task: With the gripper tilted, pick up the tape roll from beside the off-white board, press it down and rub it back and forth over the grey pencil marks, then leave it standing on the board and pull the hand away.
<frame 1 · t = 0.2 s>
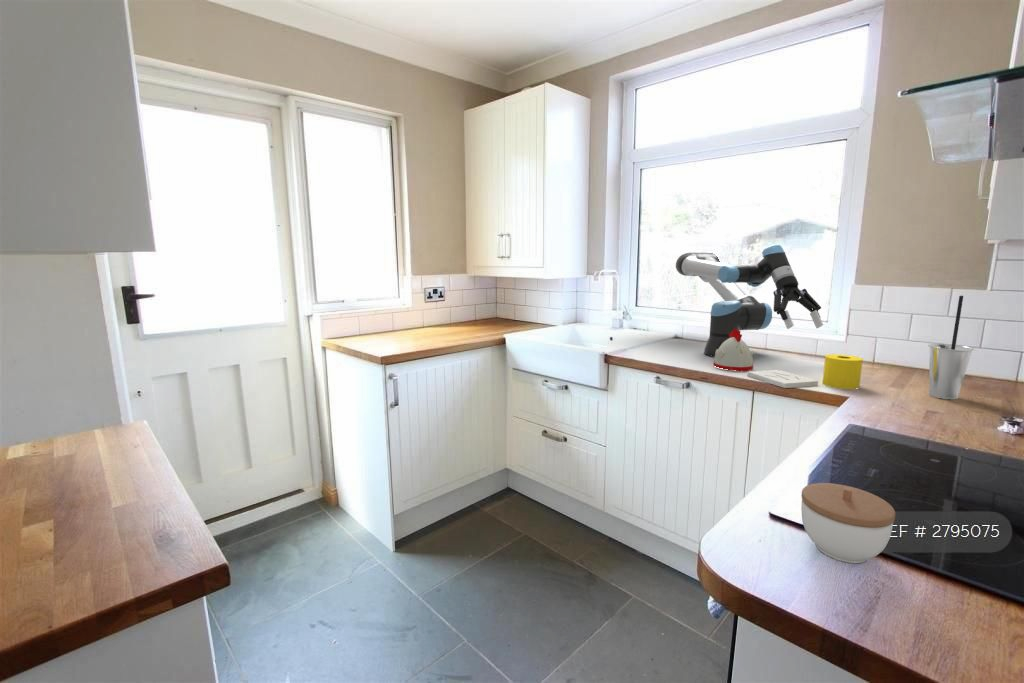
hand: (805, 327, 178), 16 cm above the counter, tool tilted 35°, fingers open, 13 cm apart
tape roll: (840, 385, 155), on the counter
lidded jar: (840, 551, 67), on the counter
kitchen timer: (732, 367, 182), on the counter
marked board: (781, 380, 161), on the counter
cup with straw: (942, 396, 142), on the counter
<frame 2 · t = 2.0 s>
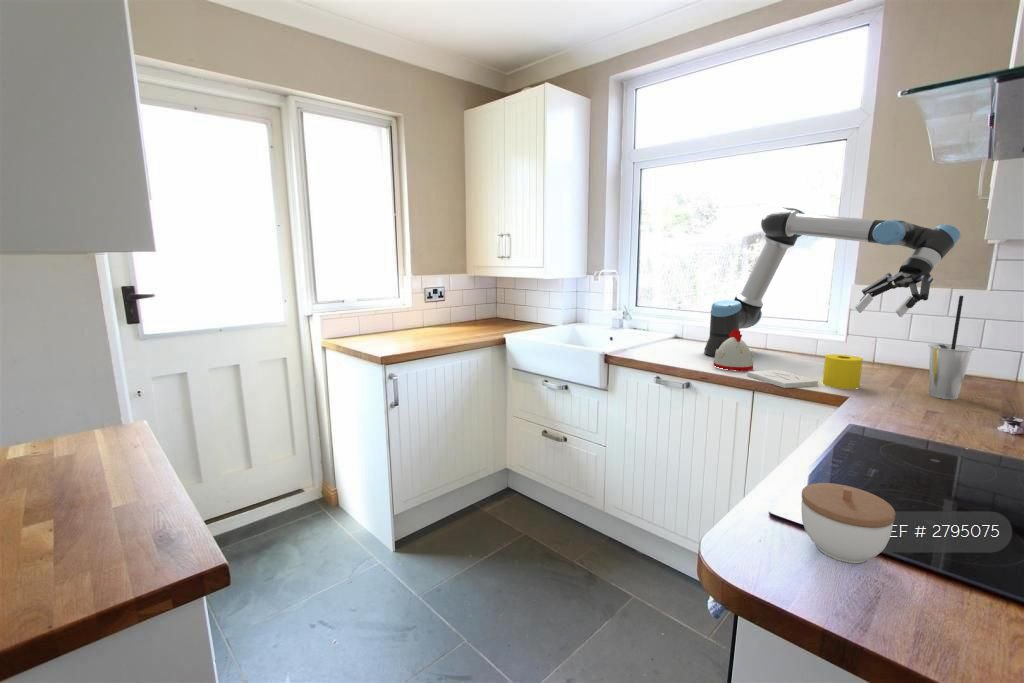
hand: (877, 312, 153), 24 cm above the counter, tool tilted 45°, fingers open, 13 cm apart
nothing on the counter moved.
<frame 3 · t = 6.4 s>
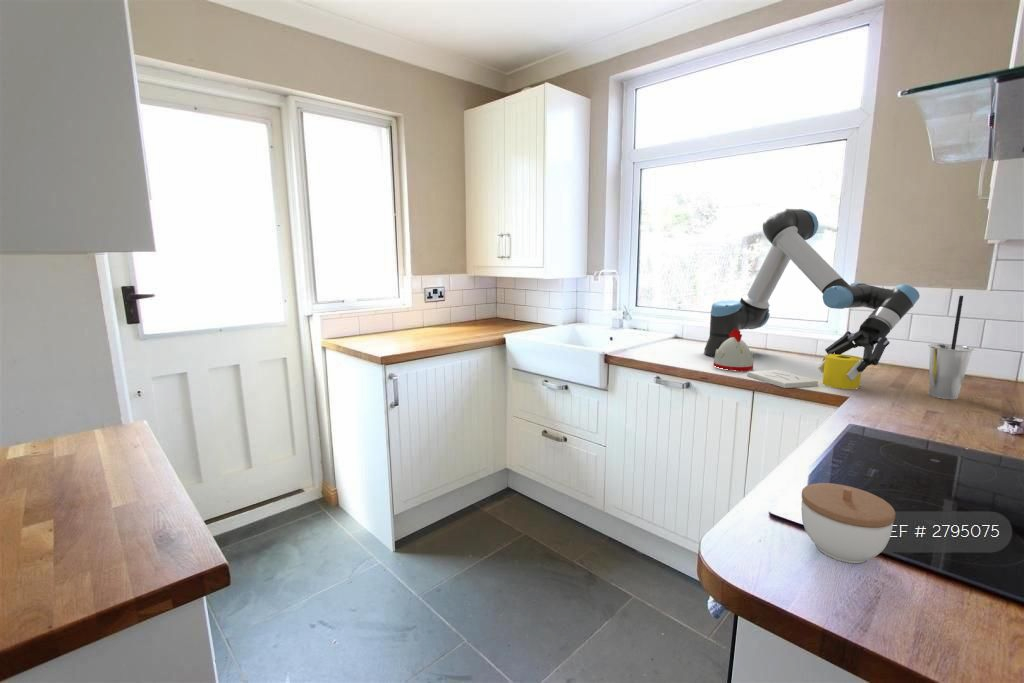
hand: (834, 373, 153), 4 cm above the counter, tool tilted 45°, fingers closed on tape roll, 10 cm apart
tape roll: (840, 385, 155), on the counter, touching gripper
everything else where it was.
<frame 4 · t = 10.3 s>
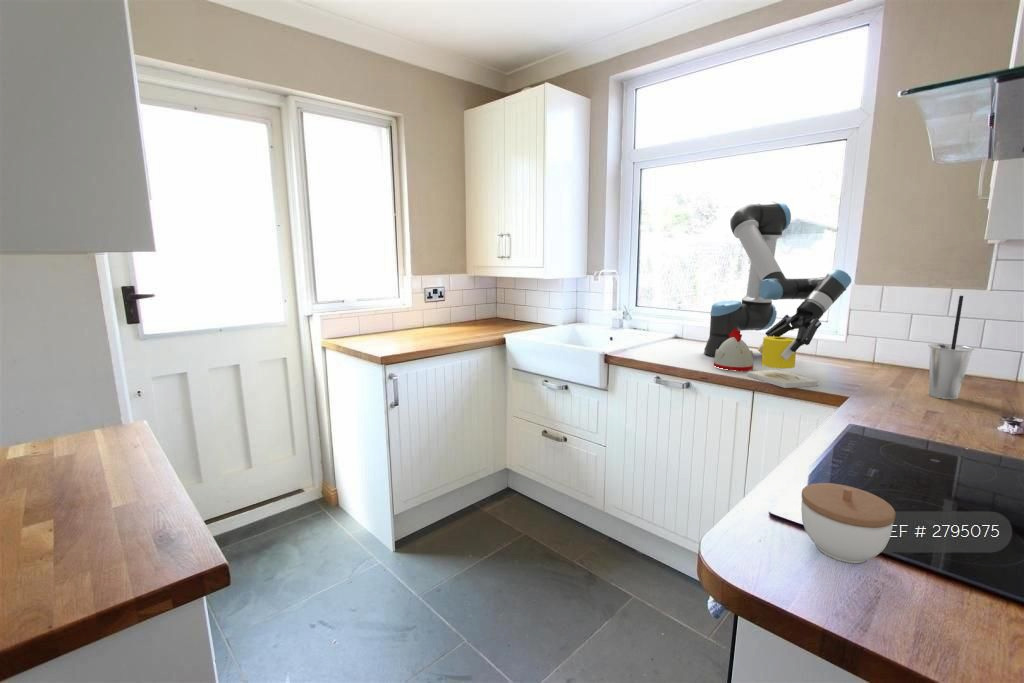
hand: (771, 354, 161), 9 cm above the counter, tool tilted 45°, fingers closed on tape roll, 10 cm apart
tape roll: (777, 366, 162), point 5 cm above the counter, touching gripper
everything else where it was.
when the fingers open (5 cm above the counter, at t = 14.5 s): tape roll stays where it is, resting on marked board.
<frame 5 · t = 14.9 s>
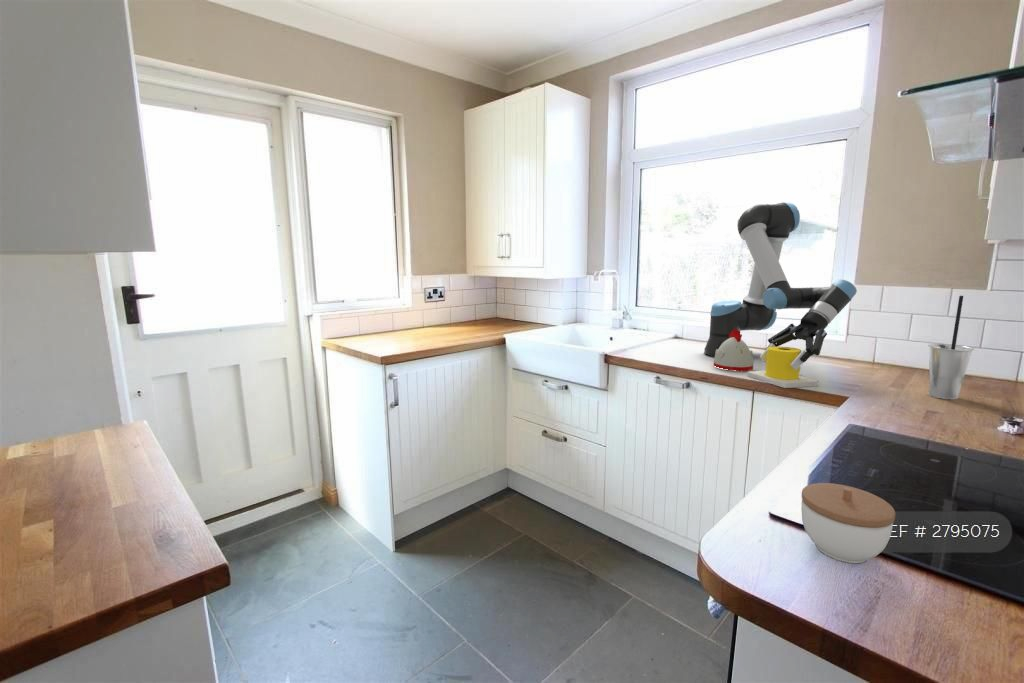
hand: (776, 363, 160), 6 cm above the counter, tool tilted 45°, fingers open, 13 cm apart
tape roll: (781, 376, 161), point 1 cm above the counter, touching marked board
everything else where it was.
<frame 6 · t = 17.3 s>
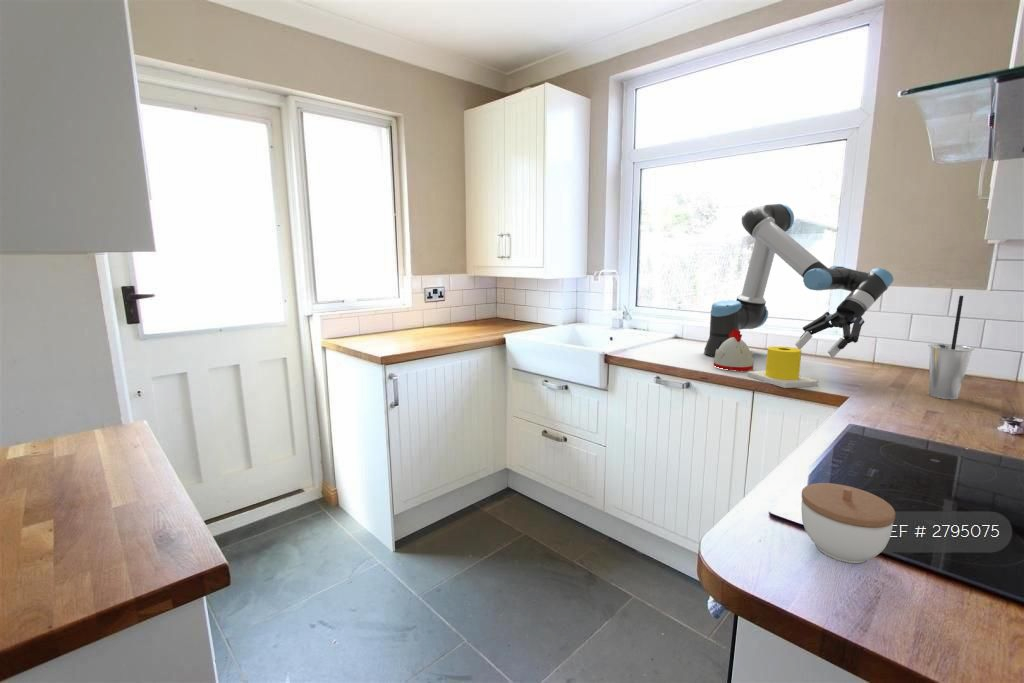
hand: (813, 350, 162), 10 cm above the counter, tool tilted 45°, fingers open, 13 cm apart
nothing on the counter moved.
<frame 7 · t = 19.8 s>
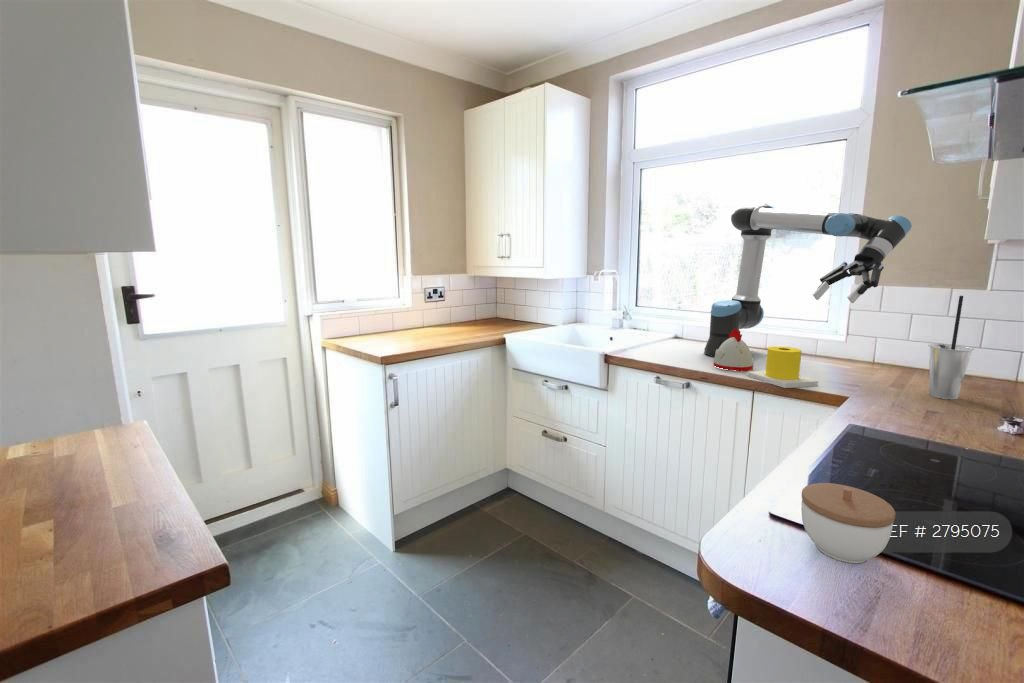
hand: (831, 298, 161), 28 cm above the counter, tool tilted 45°, fingers open, 13 cm apart
nothing on the counter moved.
at the end: tape roll inside the target area on the marked board (0.1 cm from its centre), point 1.3 cm above the marked board's base; tape roll tilted 0°; the gripper is holding nothing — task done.
